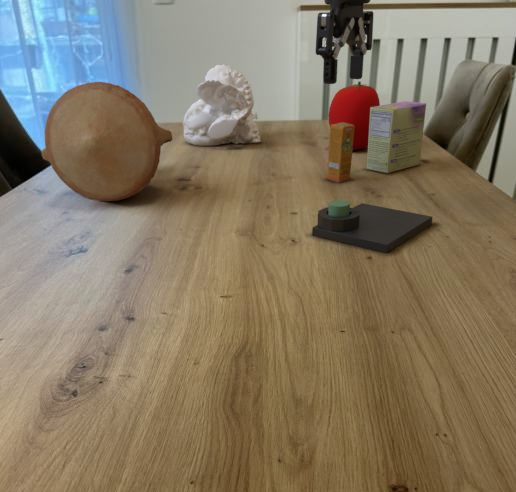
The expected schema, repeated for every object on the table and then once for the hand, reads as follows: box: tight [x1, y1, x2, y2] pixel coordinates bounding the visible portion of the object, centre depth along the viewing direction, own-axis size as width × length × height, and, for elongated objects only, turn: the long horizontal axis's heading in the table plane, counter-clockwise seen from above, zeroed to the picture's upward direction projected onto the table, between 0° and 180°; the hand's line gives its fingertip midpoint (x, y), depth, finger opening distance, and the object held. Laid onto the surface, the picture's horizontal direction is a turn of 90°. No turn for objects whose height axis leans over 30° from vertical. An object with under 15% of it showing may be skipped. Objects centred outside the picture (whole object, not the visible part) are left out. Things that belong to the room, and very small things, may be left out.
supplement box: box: [326, 122, 355, 183], centre depth 103 cm, size 3×3×10 cm
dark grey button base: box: [311, 202, 433, 254], centre depth 80 cm, size 14×12×3 cm
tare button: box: [328, 199, 351, 217], centre depth 79 cm, size 3×3×2 cm
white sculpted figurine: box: [181, 63, 262, 147], centre depth 136 cm, size 19×20×20 cm
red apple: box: [328, 81, 381, 151], centre depth 124 cm, size 13×11×14 cm
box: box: [366, 101, 427, 174], centre depth 109 cm, size 10×6×12 cm, turn 130°
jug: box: [41, 81, 173, 202], centre depth 100 cm, size 20×19×30 cm
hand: (343, 81), depth 96 cm, fingers open, 8 cm apart
